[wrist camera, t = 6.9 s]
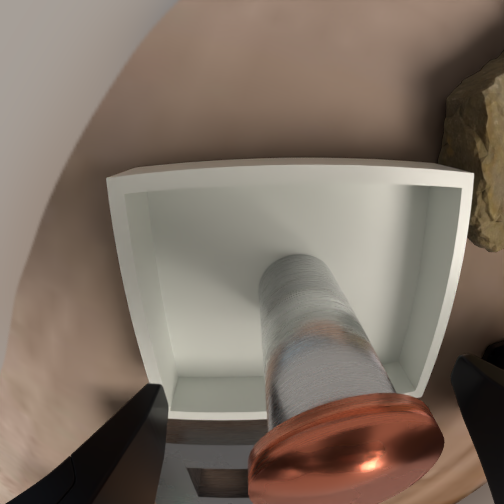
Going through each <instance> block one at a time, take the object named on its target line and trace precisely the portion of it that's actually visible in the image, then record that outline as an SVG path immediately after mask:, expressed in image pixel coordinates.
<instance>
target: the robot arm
mask: <svg viewBox="0 0 504 504" xmlns="http://www.w3.org/2000/svg"><path fill="white" fill-rule="evenodd" d="M451 383H452V386H453V389H454V392H455V395H456V398H457V401H458V404H459V407H460V410H461V414H462V417H463V419H464V422H465V424H466V427H467V429H468V431H469V434H470V436H471V439H472V441H473V444H474V446H475V449H476V451H477V454H478V457H479V459H480V462H481V465H482V467H483V470H484V473H485V476H486V479H487V482H488V485H489V488H490V491H491V494H492V497H493V500H494V503H495V504H504V341H503V342H499V343H496V344H493V345H491V346H489V347H488V349H487V350H486V352H485V355H484V357H483V359H480V358H478V357H476V356H474V355H472V354H469V353H468V354H464V355H460V356H459V357H458V358H457V360H456V363H455V366H454V368H453V371H452V373H451ZM168 412H169V406H168V401H167V398H166V394H165V391H164V388H163V386H162V385H161V384H155V383H148V384H146V385H145V386H144V387H143V388H142V389H141V390H140V391H139V392H138V393H137V394H136V395H135V396H134V397H133V398H132V399H130V400H129V401H128V402H127V403H126V404H125V405H124V406H123V407H122V408H121V409H120V410H119V411H118V412H117V413H116V414H114V415H113V416H112V417H111V418H110V419H109V420H108V421H107V422H106V423H105V424H104V425H103V426H102V427H101V428H99V429H98V430H97V431H96V432H95V433H94V434H93V435H92V436H91V437H90V438H89V439H88V440H86V441H85V442H84V443H83V444H82V445H81V446H80V447H79V448H78V449H77V450H76V451H74V452H73V453H72V454H71V456H69V457H68V458H67V459H66V460H64V461H63V462H62V463H61V464H60V465H59V466H58V467H56V468H55V469H54V470H53V471H52V472H51V473H49V474H48V475H47V476H45V477H44V478H43V479H41V480H40V481H39V482H37V483H36V484H34V485H33V486H31V487H30V488H29V489H27V490H26V491H24V492H23V493H21V494H20V495H18V496H17V497H15V498H14V499H12V500H11V501H9V502H7V503H6V504H155V499H156V494H157V489H158V484H159V480H160V475H161V470H162V465H163V460H164V455H165V445H166V433H167V422H168Z"/></svg>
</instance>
